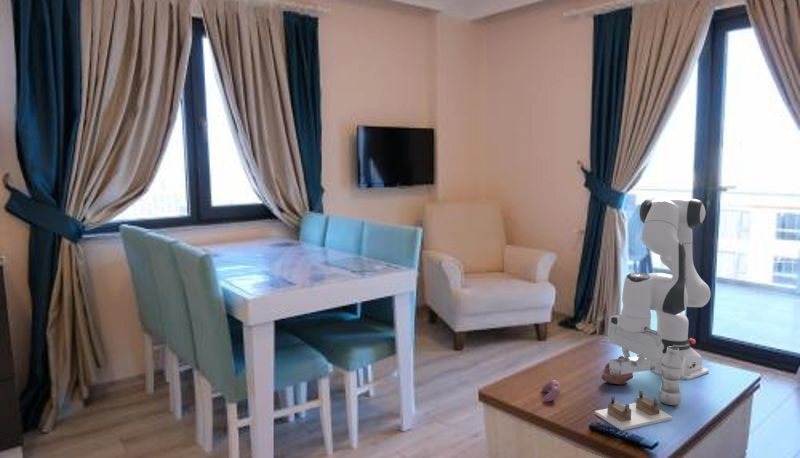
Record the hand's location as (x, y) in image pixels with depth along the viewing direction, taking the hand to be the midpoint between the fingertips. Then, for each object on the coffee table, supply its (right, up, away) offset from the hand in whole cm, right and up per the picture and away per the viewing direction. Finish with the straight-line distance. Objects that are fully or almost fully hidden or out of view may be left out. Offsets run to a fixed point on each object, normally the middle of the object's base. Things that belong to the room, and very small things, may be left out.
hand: (632, 364), depth 173 cm
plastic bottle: (+17, -17, +11) cm, 26 cm away
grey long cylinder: (0, -2, 0) cm, 2 cm away
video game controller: (-22, -16, +16) cm, 32 cm away
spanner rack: (+1, -18, +1) cm, 18 cm away
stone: (+7, -15, +27) cm, 31 cm away
